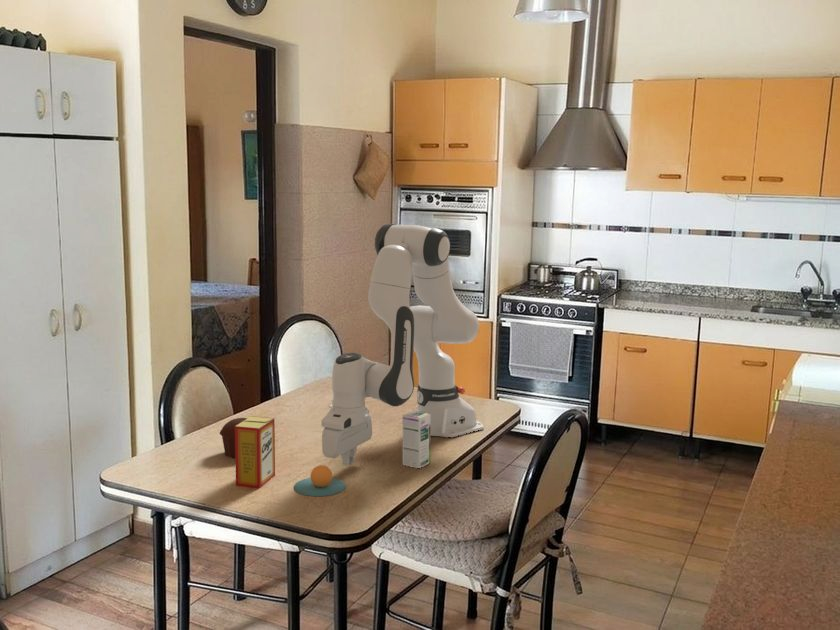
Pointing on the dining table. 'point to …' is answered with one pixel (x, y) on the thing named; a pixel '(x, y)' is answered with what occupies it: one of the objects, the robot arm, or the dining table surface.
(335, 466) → the dining table surface
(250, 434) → the baking soda box
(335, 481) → the teal plate
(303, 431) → the dining table surface
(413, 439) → the syrup box
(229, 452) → the muffin
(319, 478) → the ball
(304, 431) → the dining table surface
